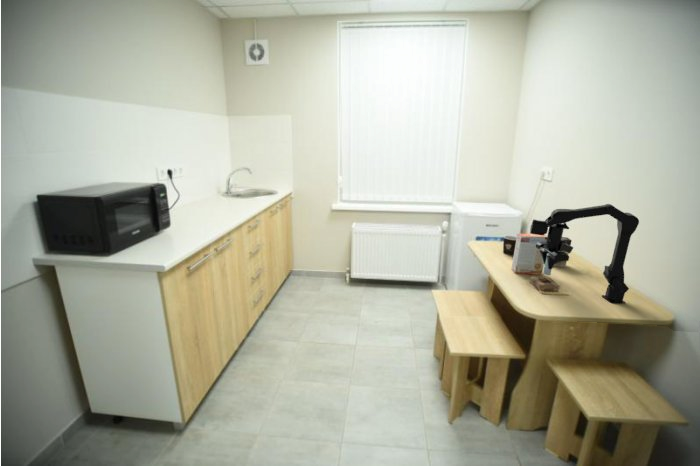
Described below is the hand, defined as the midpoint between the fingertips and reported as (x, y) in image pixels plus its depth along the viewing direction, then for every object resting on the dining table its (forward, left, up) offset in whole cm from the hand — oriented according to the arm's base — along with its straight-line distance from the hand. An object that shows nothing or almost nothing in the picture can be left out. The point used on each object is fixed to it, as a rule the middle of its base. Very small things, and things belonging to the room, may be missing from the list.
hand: (548, 267), depth 159 cm
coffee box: (+32, -22, -11) cm, 40 cm away
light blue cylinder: (0, 0, -3) cm, 3 cm away
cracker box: (+19, 0, -11) cm, 22 cm away
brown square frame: (0, 0, -10) cm, 10 cm away
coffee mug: (+47, -3, -11) cm, 48 cm away
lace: (-5, -2, -10) cm, 11 cm away
